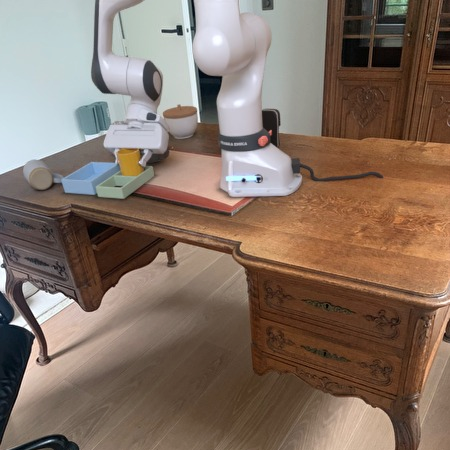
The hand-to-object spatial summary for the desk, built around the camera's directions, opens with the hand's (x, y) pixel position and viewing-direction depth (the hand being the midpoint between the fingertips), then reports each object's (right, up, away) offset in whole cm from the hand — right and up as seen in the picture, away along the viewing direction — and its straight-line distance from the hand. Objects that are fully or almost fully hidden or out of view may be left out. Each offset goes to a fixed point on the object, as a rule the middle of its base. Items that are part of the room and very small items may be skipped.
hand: (130, 165), depth 128 cm
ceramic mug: (-27, -4, +8) cm, 29 cm away
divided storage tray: (-1, -6, 0) cm, 6 cm away
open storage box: (-12, -4, +5) cm, 13 cm away
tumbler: (+1, -4, +3) cm, 5 cm away
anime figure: (0, +8, +20) cm, 21 cm away
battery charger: (+43, +12, +17) cm, 47 cm away
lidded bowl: (+12, +22, +37) cm, 45 cm away
